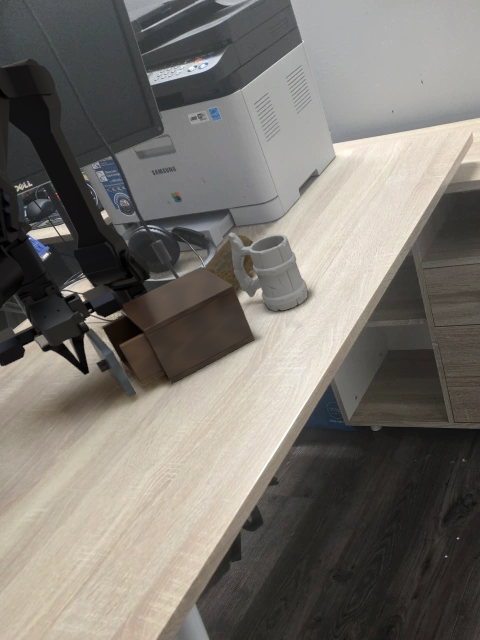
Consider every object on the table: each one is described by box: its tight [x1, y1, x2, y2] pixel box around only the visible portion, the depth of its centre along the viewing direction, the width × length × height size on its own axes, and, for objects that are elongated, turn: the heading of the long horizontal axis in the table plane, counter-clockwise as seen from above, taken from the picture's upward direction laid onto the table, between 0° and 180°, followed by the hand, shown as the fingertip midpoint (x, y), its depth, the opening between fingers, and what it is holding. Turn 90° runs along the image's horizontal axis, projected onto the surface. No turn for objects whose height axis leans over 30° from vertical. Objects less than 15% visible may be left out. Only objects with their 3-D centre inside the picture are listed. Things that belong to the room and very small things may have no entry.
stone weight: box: [203, 234, 255, 291], centre depth 117 cm, size 15×7×7 cm, turn 168°
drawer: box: [85, 315, 165, 398], centre depth 99 cm, size 15×11×7 cm
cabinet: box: [119, 266, 255, 384], centre depth 101 cm, size 15×13×9 cm
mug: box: [228, 232, 308, 312], centre depth 106 cm, size 8×12×12 cm, turn 73°
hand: (86, 373), depth 100 cm, fingers closed
